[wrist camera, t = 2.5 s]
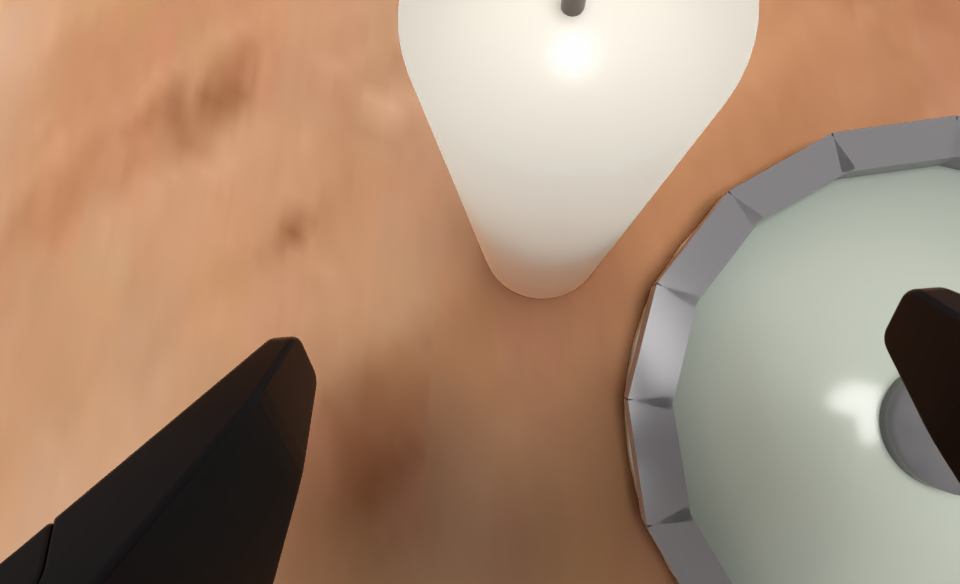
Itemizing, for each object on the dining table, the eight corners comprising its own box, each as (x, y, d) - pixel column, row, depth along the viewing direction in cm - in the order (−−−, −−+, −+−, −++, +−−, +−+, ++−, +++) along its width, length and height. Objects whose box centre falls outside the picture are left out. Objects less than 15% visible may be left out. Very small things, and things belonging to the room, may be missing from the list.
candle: (625, 261, 19) (882, 12, 5) (519, 320, 19) (501, 228, 5) (563, 161, 20) (648, -287, 6) (461, 219, 20) (315, -94, 6)
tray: (1418, 559, 16) (1519, 581, 14) (840, 869, 16) (874, 925, 14) (999, 43, 19) (1042, 14, 17) (521, 311, 19) (521, 307, 17)
